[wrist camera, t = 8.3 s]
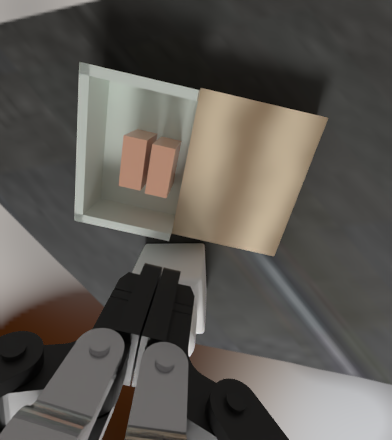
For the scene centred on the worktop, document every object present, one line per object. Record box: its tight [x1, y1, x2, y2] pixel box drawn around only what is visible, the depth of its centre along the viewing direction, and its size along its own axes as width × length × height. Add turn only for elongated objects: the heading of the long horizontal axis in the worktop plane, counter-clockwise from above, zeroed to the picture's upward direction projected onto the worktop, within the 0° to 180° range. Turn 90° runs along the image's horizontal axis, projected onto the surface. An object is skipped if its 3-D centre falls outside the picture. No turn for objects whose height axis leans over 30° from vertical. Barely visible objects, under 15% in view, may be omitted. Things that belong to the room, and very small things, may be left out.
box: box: [74, 62, 200, 241], centre depth 26 cm, size 9×14×5 cm
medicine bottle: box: [132, 243, 207, 357], centre depth 29 cm, size 7×7×12 cm
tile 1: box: [145, 137, 182, 198], centre depth 26 cm, size 4×4×2 cm
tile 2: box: [119, 129, 157, 191], centre depth 26 cm, size 4×4×2 cm
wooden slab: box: [172, 88, 328, 256], centre depth 28 cm, size 11×14×3 cm
